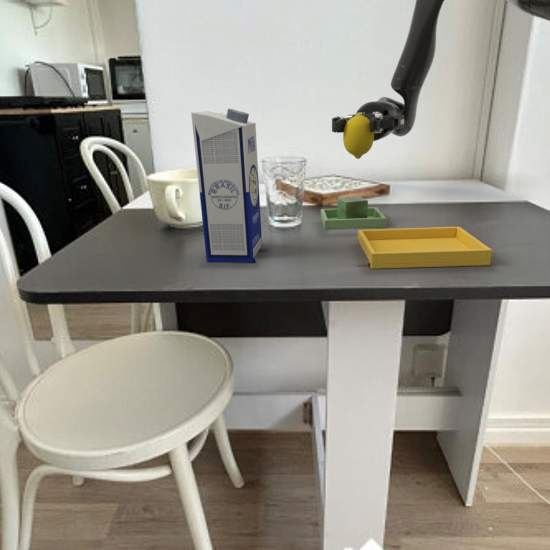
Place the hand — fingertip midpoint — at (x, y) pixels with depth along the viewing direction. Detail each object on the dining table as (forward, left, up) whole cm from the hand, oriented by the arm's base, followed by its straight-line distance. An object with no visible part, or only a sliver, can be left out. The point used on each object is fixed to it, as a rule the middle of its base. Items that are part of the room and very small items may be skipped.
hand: (354, 126), depth 77 cm
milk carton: (+20, +21, -16) cm, 33 cm away
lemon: (-1, -2, -6) cm, 7 cm away
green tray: (+1, +7, -16) cm, 18 cm away
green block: (+1, +7, -15) cm, 17 cm away
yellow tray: (-6, +23, -16) cm, 29 cm away
